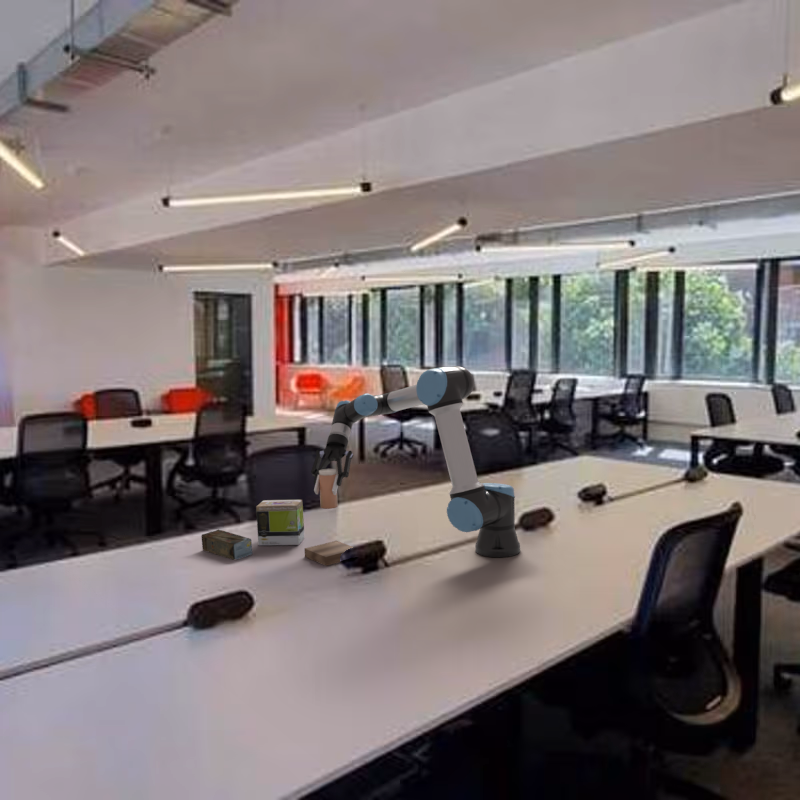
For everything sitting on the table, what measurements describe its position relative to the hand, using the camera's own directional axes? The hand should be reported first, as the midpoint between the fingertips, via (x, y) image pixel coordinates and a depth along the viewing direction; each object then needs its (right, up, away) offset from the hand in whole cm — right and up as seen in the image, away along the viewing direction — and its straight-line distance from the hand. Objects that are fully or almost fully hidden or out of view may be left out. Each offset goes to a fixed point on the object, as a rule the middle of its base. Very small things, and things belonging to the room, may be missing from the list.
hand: (324, 492), depth 270 cm
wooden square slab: (+3, -21, -7) cm, 22 cm away
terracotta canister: (+1, -6, +4) cm, 7 cm away
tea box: (-17, -20, +13) cm, 29 cm away
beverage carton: (-34, -22, +2) cm, 41 cm away
